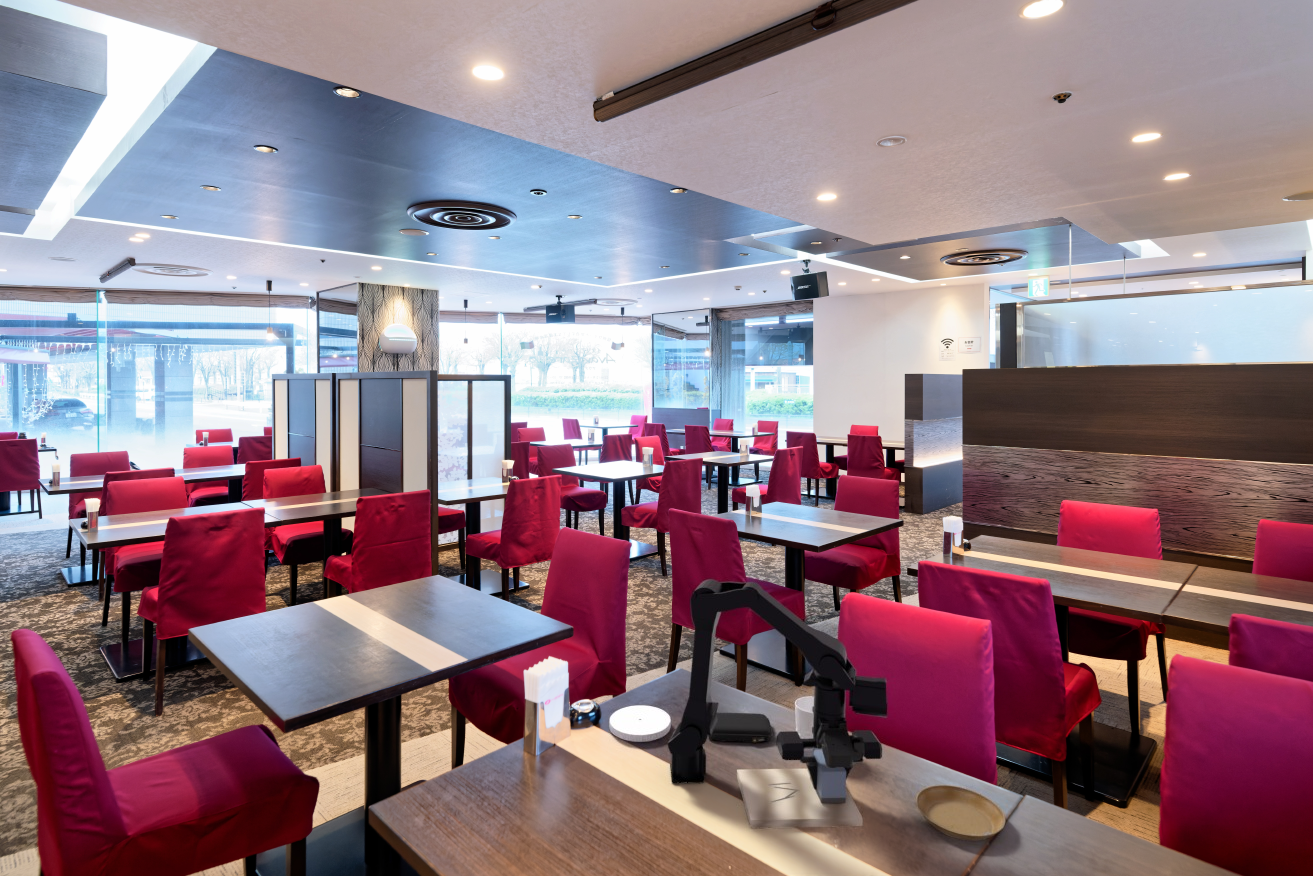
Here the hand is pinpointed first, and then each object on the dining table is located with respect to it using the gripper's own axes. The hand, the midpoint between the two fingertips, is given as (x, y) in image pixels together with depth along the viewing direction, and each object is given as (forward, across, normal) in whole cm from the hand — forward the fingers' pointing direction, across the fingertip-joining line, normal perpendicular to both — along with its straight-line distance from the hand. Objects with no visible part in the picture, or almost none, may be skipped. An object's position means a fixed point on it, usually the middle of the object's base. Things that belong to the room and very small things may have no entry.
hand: (827, 788), depth 129 cm
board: (+2, -6, 0) cm, 6 cm away
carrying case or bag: (+3, -13, +25) cm, 29 cm away
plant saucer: (+3, +22, -7) cm, 23 cm away
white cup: (+2, +2, +18) cm, 18 cm away
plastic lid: (+3, -35, +28) cm, 45 cm away
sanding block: (0, 0, 0) cm, 1 cm away
